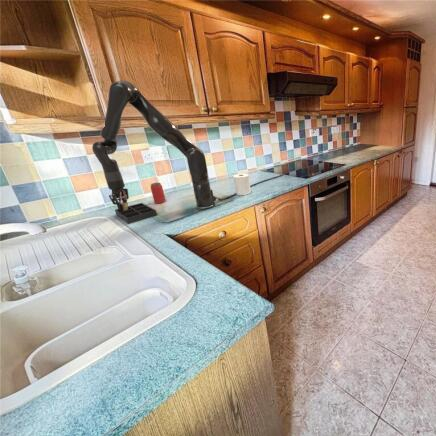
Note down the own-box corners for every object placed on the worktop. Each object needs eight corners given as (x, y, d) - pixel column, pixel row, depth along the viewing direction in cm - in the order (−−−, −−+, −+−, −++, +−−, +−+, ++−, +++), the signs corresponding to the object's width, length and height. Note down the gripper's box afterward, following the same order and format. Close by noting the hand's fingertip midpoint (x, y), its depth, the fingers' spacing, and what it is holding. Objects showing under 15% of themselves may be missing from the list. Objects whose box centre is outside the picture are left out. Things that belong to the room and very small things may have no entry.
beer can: (160, 204, 161) (155, 185, 156) (152, 203, 162) (147, 185, 158) (168, 200, 166) (163, 182, 162) (159, 200, 168) (155, 182, 164)
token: (127, 207, 149) (125, 201, 147) (129, 209, 146) (127, 203, 144) (118, 209, 146) (116, 203, 144) (120, 211, 143) (118, 205, 142)
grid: (143, 207, 157) (141, 202, 155) (157, 215, 143) (155, 210, 142) (116, 214, 147) (114, 209, 146) (128, 223, 133) (126, 218, 132)
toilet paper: (251, 190, 179) (249, 173, 174) (250, 194, 169) (248, 176, 164) (236, 191, 178) (234, 174, 174) (234, 195, 169) (232, 177, 164)
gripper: (113, 182, 133) (123, 213, 139) (128, 175, 146) (137, 204, 152) (98, 183, 132) (109, 214, 139) (115, 176, 146) (124, 205, 152)
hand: (123, 208), depth 146 cm, fingers closed on token, 4 cm apart
